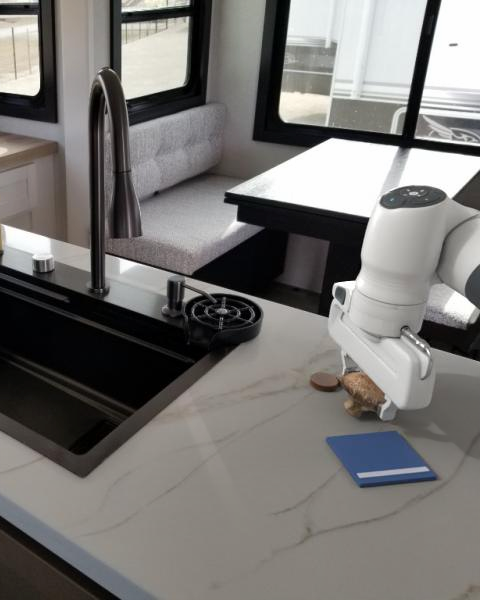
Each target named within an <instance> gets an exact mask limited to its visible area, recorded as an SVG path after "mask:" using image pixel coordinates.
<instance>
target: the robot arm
mask: <svg viewBox="0 0 480 600" xmlns="http://www.w3.org/2000/svg"><path fill="white" fill-rule="evenodd" d="M362 241H363V242H362V246H361V251H360V260H361V268H360V270H359V273H358V274H357V277H356V279H355V280H350V281H341V282H334V284H333V286H332V290H331V291H332V293H331V294H332V296H333V299H332V301H331V304H330V308H329V315H328V321H327V329H328V334H329V336H330V338H331V339H333V341H334V342H335V343H336V344H337V345H338V346H339V347H340V349H341V351H340V355H341V360H342V361H341V362H342V366H343V367H342V372H341V376H345V375H347V374H349V373H352V372H361V370H362V372H363V373H366V374H367V375H368V376H369V377H370V379H371V380H372V381H373V382H374V383H375V384H376V385H377V386H378V387H379V388H380V389H381V390H382V391H383V392H384V393H385V400H387V402H386V403H385V404H383V403H382V404H378V406H377V410H376V412H375V413H376V415H377V416H378V417H379V419H381V421H383V422H387V421H393V420H394V419H395V417H396V412H397V410H401V411H412V410H414V411H415V410H421V409H424V408H426V407H428V406H429V405H430V403H431V401H432V396H433V393H434V388H435V382H436V381H435V380H436V374H437V373H436V372H437V364H436V363H437V362H436V359H435V357H434V355H433V353H432V352H431V346H430V344H429V343H428V342H427V341H426V340H425V339H422V337H420V336H419V335H418V333H419V332H420V331H421V329H422V326H423V323H424V318H425V314H426V310H427V307H428V303H429V299H430V296H431V289H432V287H433V286H435V285H441V284H442V285H443V284H444V285H445V286H446V287H449V288H450V289H452V291H454V292H456V293H457V294H459V295H461V296H462V297H463V298H465V299H467V301H469V303H470V304H471V305H473V306H474V307H475V308H476V309H478V310H479V311H480V210H478V209H475V208H472V207H469V206H465V205H462V204H461V203H459V202H457V201H455V200H454V199H452V198H450V197H449V195H448V193H446V192H445V190H443V189H440V188H439V187H435V186H431V185H425V184H424V185H421V184H409V185H408V184H407V185H402V186H398V187H397V186H396V187H394V188H391V189H390V190H387V191H386V192H384V193H383V194H382V195H381V196H380V197H379V198H378V200H377V202H376V203H375V205H374V207H373V209H372V210H371V214H370V216H369V219H368V222H367V225H366V229H365V233H364V237H363V240H362ZM358 367H359V368H360V369H361V370H360V369H359V368H358Z"/></svg>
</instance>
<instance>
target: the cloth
mask: <svg viewBox="0 0 480 600" xmlns="http://www.w3.org/2000/svg"><path fill="white" fill-rule="evenodd" d="M325 442H326V443H327V444H328V446H329V447H330V449H331V450H332V452H333V453H334V454H335V456H336V457H337V458H338V459H339V461H340V463H342V465H343V466H344V468H345V469H346V470H347V472H348V473H349V475H350V476H351V478H352V479H353V480H354V482H355V483H356V484H357V486H358V487H359V488H368V487H369V488H370V487H378V486H387V485H396V484H407V483H416V482H427V481H434V480H437V477H438V476H437V474H436V473H435V472H434V471H433V470H432V469H431V468H430V466H428V465H427V463H426V462H425V461H424V460H423V459H422V458H421V457H420V455H419V454H418V453H417V452H416V451H415V450H414V449H413V447H412V446H410V444H409V443H408V442H407V441H406V440H405V439H404V438H403V437H402V435H401V434H400V433H399V432H398V430H387V431H377V432H364V433H354V434H345V435H344V434H343V435H332V436H325Z"/></svg>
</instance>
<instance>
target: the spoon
mask: <svg viewBox="0 0 480 600" xmlns="http://www.w3.org/2000/svg"><path fill="white" fill-rule="evenodd" d="M343 377H344V376H343V375H338V376H334V374H331V373H330V372H326V371H316V372H313V373H311V375H310V377H309V385H310V386H311V387H312V388H313V389H315V390H317V391H319V392H324V393H330V392H335V391H336V390H337V389H338V386H341V380H342V378H343ZM341 387H342V386H341Z"/></svg>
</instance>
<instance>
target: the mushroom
mask: <svg viewBox="0 0 480 600" xmlns="http://www.w3.org/2000/svg"><path fill="white" fill-rule="evenodd" d="M341 388H343V389H344V391H345V392H346V393H347V394H348V399H346V401H344V402H343V408H344V410H345V412H347V414H348V415H349V416H351V417H352V418H354V419H357V418H359V417H361V416H362V415H363V414H365V413H366V412H369V411H372V412H375V413H376V410H377V406H378V404H382V403H383V404H385V403H386V402H387V400H385V393H384V392H383V391H382V390H381V389H380V388H379V387H378V386H377V385H376V384H375V383H374V382H373V381H372V380H371V379H370V377H369V376H368V375H367V374H366V373H365V372H363V371H360V372H352V373H349V374H347V375H345V376H344V377H343V378H342V380H341Z"/></svg>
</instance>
